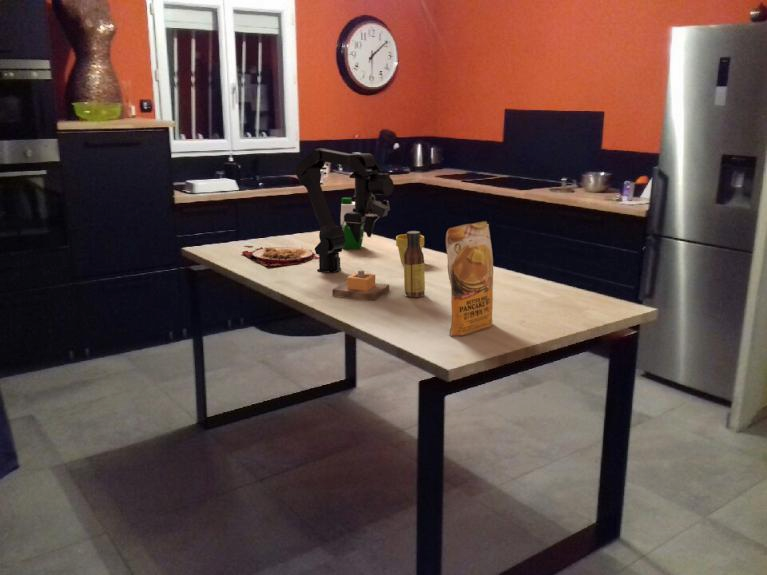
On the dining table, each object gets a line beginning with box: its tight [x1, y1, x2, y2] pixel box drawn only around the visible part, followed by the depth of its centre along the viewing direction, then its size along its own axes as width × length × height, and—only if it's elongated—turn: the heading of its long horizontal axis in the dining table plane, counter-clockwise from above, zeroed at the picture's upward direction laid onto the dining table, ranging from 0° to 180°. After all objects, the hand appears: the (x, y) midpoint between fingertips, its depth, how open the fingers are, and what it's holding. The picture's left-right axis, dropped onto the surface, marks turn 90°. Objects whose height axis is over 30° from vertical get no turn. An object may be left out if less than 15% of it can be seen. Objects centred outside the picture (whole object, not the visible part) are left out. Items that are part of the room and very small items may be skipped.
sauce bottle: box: [403, 230, 426, 299], centre depth 212 cm, size 7×6×20 cm
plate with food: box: [241, 245, 319, 267], centre depth 264 cm, size 25×26×4 cm
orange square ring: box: [346, 272, 376, 291], centre depth 216 cm, size 7×7×4 cm
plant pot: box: [395, 233, 425, 265], centre depth 255 cm, size 10×10×10 cm
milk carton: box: [340, 197, 365, 251], centre depth 278 cm, size 9×9×20 cm
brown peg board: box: [331, 270, 390, 302], centre depth 216 cm, size 14×12×7 cm
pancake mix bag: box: [445, 220, 494, 337], centre depth 181 cm, size 7×19×28 cm, turn 131°
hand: (363, 239), depth 232 cm, fingers open, 9 cm apart
